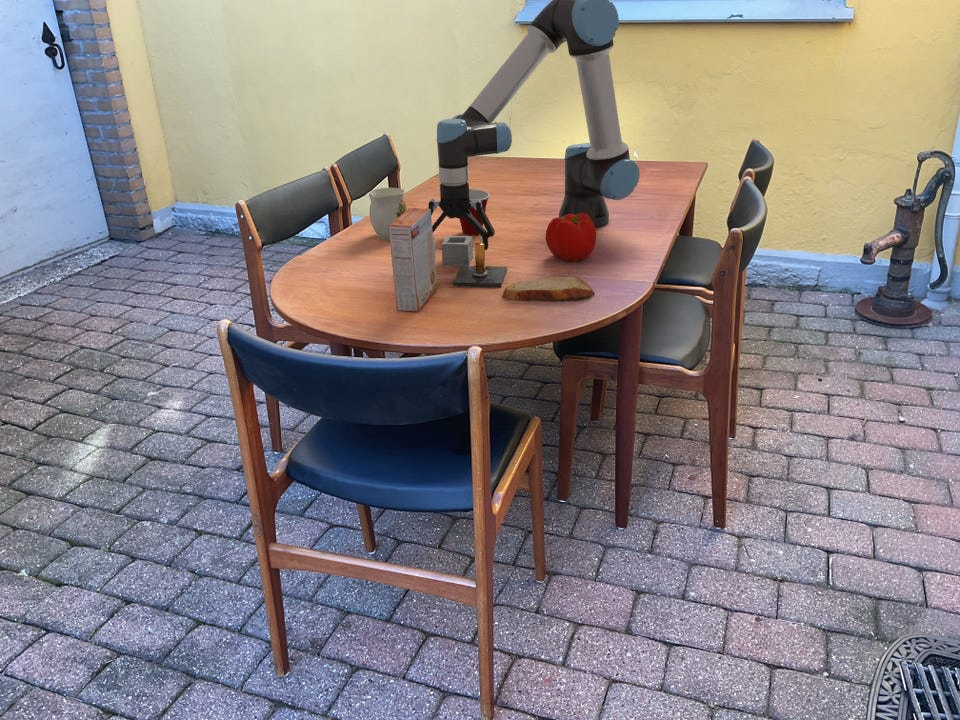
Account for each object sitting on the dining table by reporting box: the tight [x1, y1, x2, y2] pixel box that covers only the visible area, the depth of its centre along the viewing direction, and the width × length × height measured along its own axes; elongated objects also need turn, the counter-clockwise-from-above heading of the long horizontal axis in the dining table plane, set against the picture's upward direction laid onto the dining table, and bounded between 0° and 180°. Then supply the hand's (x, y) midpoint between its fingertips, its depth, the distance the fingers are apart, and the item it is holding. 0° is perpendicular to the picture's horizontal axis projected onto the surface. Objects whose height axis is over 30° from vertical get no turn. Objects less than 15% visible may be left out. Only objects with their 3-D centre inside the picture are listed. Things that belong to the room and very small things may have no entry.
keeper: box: [452, 242, 508, 288], centre depth 203 cm, size 12×12×9 cm
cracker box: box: [388, 207, 438, 313], centre depth 189 cm, size 14×6×21 cm, turn 165°
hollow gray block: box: [441, 235, 474, 267], centre depth 216 cm, size 7×7×6 cm
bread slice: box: [501, 275, 595, 302], centre depth 193 cm, size 18×18×4 cm
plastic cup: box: [458, 188, 491, 237], centre depth 237 cm, size 11×11×12 cm
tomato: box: [545, 213, 597, 262], centre depth 215 cm, size 13×14×12 cm
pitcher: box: [368, 187, 408, 240], centre depth 237 cm, size 11×18×14 cm, turn 163°
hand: (458, 261), depth 217 cm, fingers open, 13 cm apart
